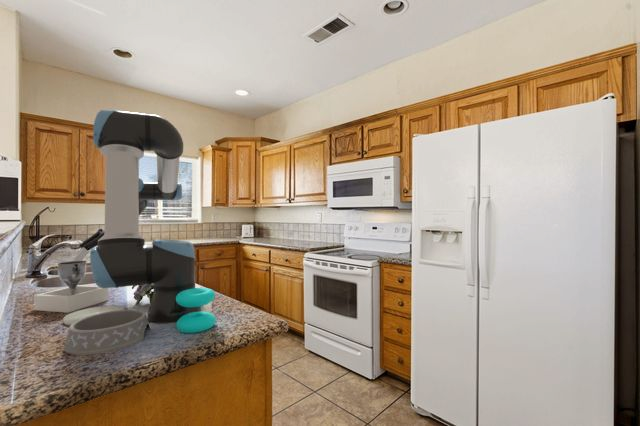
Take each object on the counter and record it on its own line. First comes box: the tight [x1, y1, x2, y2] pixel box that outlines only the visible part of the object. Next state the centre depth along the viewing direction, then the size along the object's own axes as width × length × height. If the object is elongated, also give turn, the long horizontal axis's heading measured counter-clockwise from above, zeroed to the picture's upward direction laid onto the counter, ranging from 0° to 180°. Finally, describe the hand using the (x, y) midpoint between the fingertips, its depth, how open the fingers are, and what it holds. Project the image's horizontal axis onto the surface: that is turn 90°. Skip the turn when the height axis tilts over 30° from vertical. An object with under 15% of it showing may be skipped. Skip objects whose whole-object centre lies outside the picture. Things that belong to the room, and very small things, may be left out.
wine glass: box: [57, 260, 87, 295], centre depth 110 cm, size 8×8×15 cm
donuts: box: [175, 287, 216, 334], centre depth 86 cm, size 10×10×10 cm
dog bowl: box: [63, 308, 151, 356], centre depth 79 cm, size 17×18×5 cm
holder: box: [33, 284, 109, 314], centre depth 110 cm, size 14×14×5 cm
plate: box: [62, 305, 125, 326], centre depth 96 cm, size 15×15×1 cm
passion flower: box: [131, 284, 154, 306], centre depth 110 cm, size 11×11×12 cm
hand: (88, 263), depth 116 cm, fingers open, 13 cm apart
